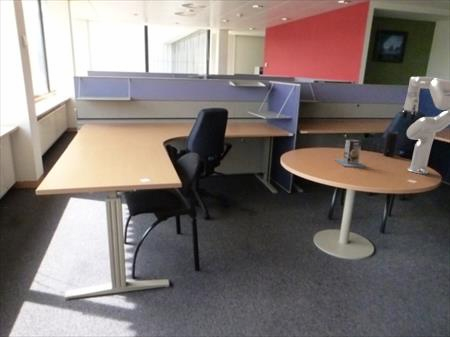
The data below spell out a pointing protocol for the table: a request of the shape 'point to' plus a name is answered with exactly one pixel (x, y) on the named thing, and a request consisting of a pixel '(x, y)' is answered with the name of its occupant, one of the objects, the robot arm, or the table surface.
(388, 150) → the portable speaker
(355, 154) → the coffee box
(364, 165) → the desk mat
